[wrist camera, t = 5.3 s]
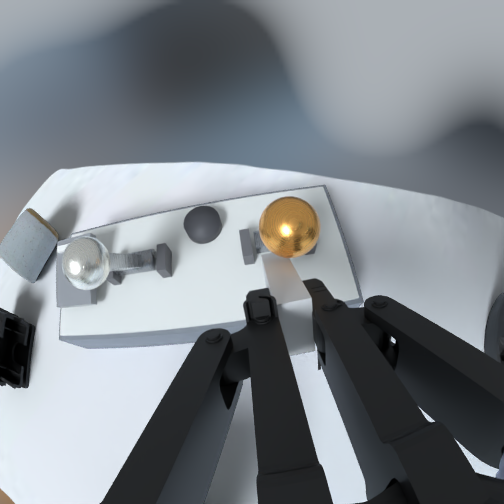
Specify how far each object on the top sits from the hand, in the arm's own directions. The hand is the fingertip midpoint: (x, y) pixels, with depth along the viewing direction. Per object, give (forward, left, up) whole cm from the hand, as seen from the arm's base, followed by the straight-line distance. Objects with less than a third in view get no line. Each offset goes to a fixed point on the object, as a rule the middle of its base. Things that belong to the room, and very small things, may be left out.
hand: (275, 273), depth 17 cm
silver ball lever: (+10, +6, -3) cm, 12 cm away
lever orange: (+3, -3, -3) cm, 5 cm away
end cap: (+21, +29, -10) cm, 37 cm away
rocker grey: (+14, +11, -3) cm, 18 cm away
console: (+8, +3, -10) cm, 13 cm away
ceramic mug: (+30, +17, -10) cm, 36 cm away
